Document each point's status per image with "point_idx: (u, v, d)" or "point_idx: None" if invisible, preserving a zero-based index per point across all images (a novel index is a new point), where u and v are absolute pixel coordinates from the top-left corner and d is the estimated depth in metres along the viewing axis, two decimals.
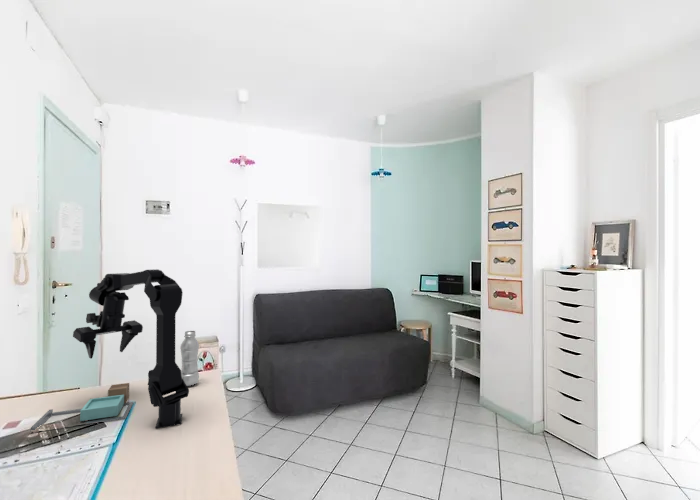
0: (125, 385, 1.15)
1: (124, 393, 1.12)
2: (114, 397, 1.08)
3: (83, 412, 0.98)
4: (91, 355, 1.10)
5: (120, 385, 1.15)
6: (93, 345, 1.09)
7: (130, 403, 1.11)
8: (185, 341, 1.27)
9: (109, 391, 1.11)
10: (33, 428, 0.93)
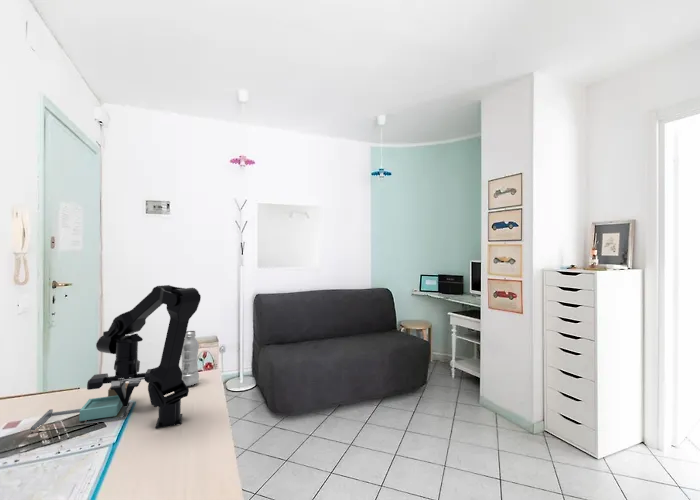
0: (125, 385, 1.15)
1: None
2: (113, 397, 1.08)
3: (82, 412, 0.98)
4: (123, 403, 1.05)
5: None
6: (120, 392, 1.04)
7: (130, 403, 1.11)
8: (185, 341, 1.27)
9: (109, 391, 1.11)
10: (33, 428, 0.93)
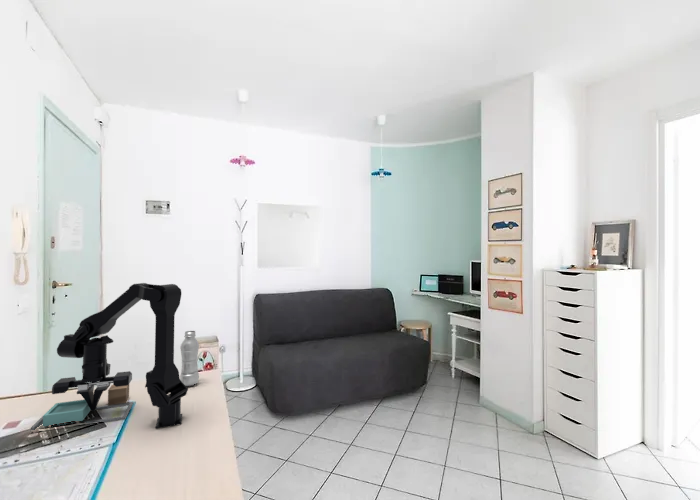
0: None
1: (124, 393, 1.13)
2: (81, 401, 1.05)
3: (46, 417, 0.95)
4: (90, 407, 1.02)
5: None
6: (87, 396, 1.01)
7: (130, 403, 1.11)
8: (185, 341, 1.27)
9: (109, 391, 1.11)
10: (33, 428, 0.93)
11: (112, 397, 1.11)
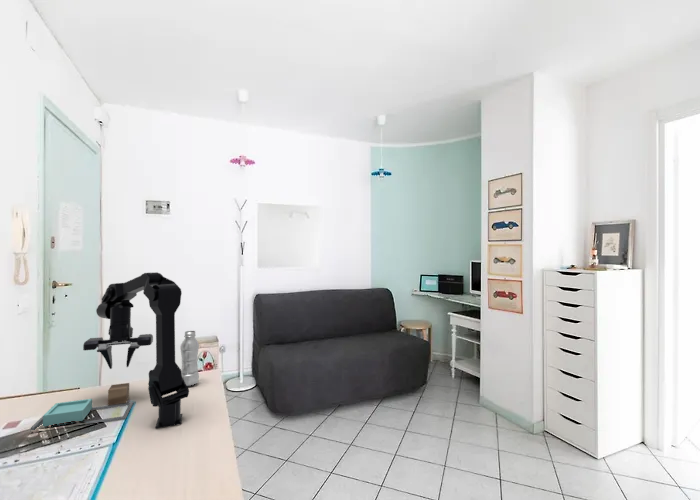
0: (125, 385, 1.15)
1: (124, 393, 1.13)
2: (81, 401, 1.05)
3: (46, 417, 0.95)
4: (109, 365, 1.12)
5: (120, 385, 1.15)
6: (106, 354, 1.11)
7: (130, 403, 1.11)
8: (185, 341, 1.27)
9: (109, 391, 1.11)
10: (33, 428, 0.93)
11: (112, 397, 1.11)
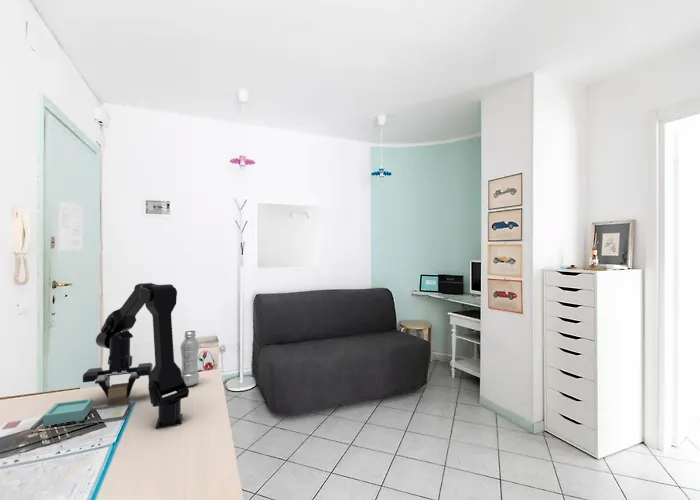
0: (125, 385, 1.15)
1: (124, 393, 1.13)
2: (81, 401, 1.05)
3: (46, 417, 0.95)
4: (107, 396, 1.12)
5: (120, 385, 1.15)
6: (104, 385, 1.10)
7: (130, 403, 1.11)
8: (185, 341, 1.27)
9: (109, 391, 1.11)
10: (33, 428, 0.93)
11: (112, 397, 1.11)
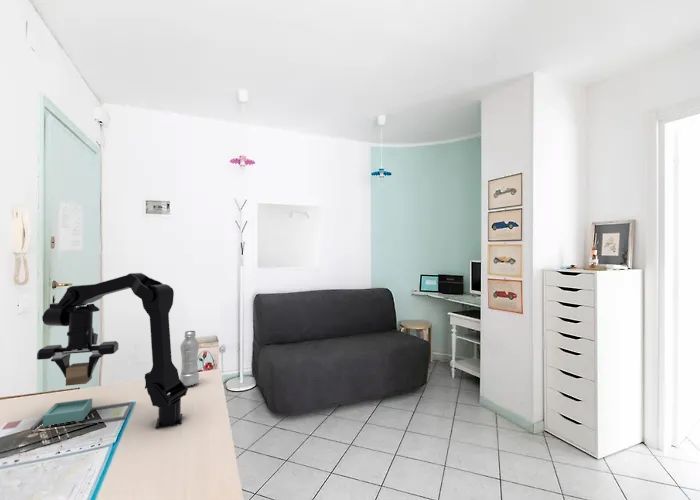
0: (87, 364, 1.04)
1: (84, 372, 1.02)
2: (81, 401, 1.05)
3: (46, 417, 0.95)
4: (65, 376, 1.02)
5: (81, 364, 1.04)
6: (61, 364, 1.00)
7: (130, 403, 1.11)
8: (185, 341, 1.27)
9: (67, 370, 1.01)
10: (33, 428, 0.93)
11: (70, 377, 1.01)
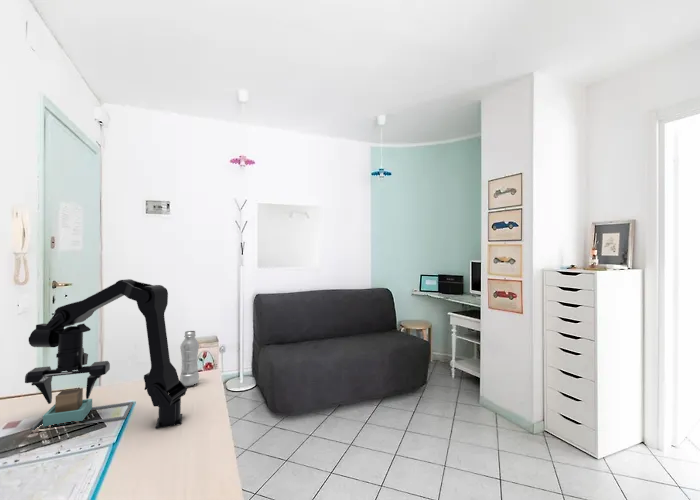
0: (77, 391, 1.02)
1: (75, 400, 0.99)
2: None
3: (46, 417, 0.95)
4: (47, 400, 0.98)
5: (71, 391, 1.01)
6: (42, 387, 0.97)
7: (130, 403, 1.11)
8: (185, 341, 1.27)
9: (57, 398, 0.98)
10: (33, 428, 0.93)
11: (60, 405, 0.98)
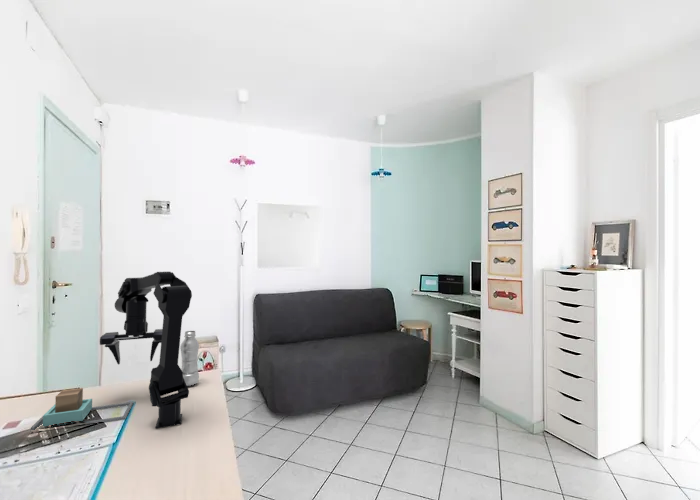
0: (77, 391, 1.02)
1: (75, 400, 0.99)
2: None
3: (46, 417, 0.95)
4: (117, 360, 1.11)
5: (71, 391, 1.01)
6: (114, 349, 1.09)
7: (130, 403, 1.11)
8: (185, 341, 1.27)
9: (57, 398, 0.98)
10: (33, 428, 0.93)
11: (60, 405, 0.98)
